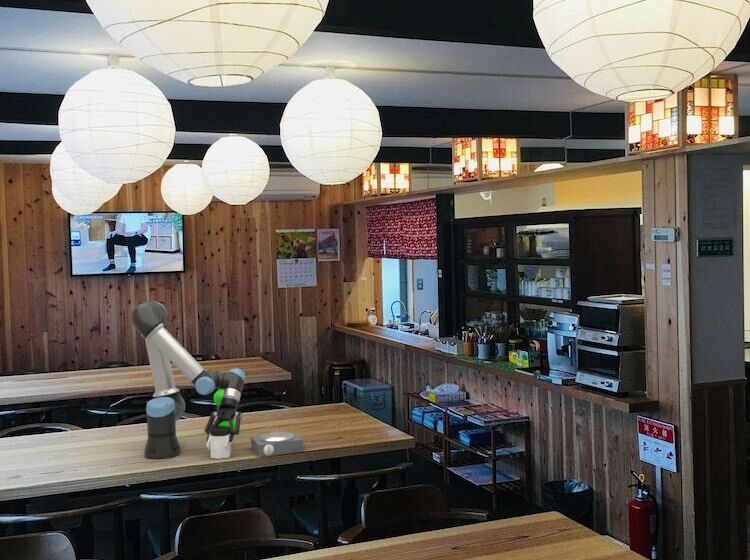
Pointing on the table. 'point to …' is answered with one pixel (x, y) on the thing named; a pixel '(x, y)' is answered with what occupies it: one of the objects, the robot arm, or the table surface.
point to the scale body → (276, 446)
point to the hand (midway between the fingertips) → (217, 448)
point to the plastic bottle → (217, 401)
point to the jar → (219, 442)
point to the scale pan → (276, 437)
